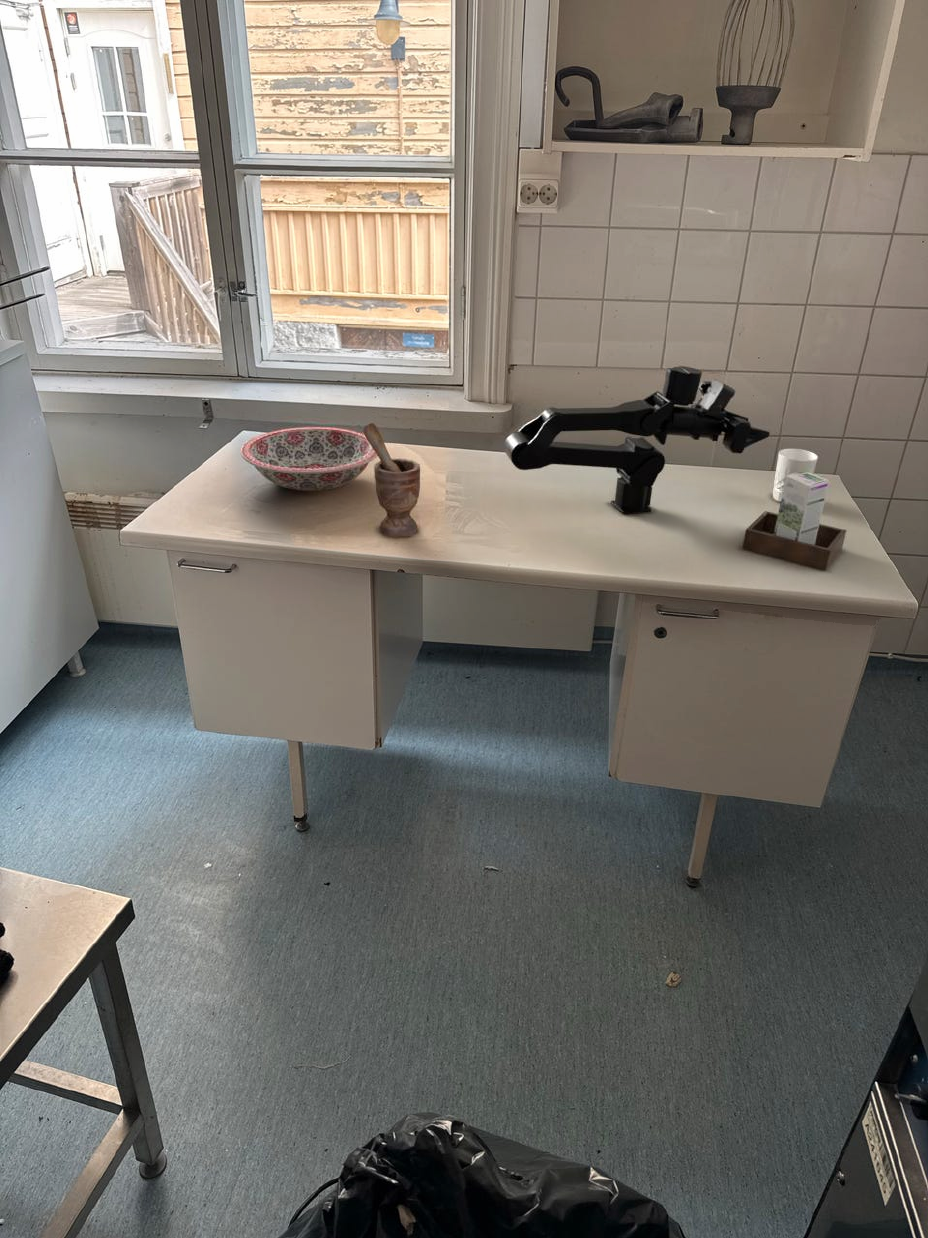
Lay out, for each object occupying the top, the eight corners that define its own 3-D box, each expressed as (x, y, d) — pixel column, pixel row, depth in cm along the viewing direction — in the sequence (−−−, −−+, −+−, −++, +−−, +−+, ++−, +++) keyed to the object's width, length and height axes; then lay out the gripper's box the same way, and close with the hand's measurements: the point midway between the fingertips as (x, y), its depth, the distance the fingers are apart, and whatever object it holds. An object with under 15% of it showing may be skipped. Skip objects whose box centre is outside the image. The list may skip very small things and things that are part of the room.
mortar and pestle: (354, 534, 172) (351, 432, 163) (368, 517, 180) (366, 418, 170) (413, 541, 170) (413, 438, 161) (424, 523, 178) (425, 424, 168)
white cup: (807, 495, 197) (818, 451, 193) (807, 508, 191) (818, 462, 186) (770, 490, 200) (779, 446, 195) (768, 502, 193) (778, 457, 188)
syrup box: (814, 551, 172) (831, 479, 164) (793, 558, 169) (810, 484, 162) (790, 540, 176) (806, 469, 169) (769, 546, 173) (784, 474, 166)
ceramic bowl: (218, 479, 196) (214, 443, 192) (330, 452, 213) (328, 418, 209) (292, 520, 177) (290, 481, 173) (408, 487, 195) (408, 451, 191)
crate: (741, 548, 172) (745, 529, 170) (761, 529, 180) (765, 510, 178) (825, 570, 164) (830, 550, 162) (841, 549, 173) (846, 530, 171)
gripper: (719, 394, 169) (792, 401, 173) (679, 369, 185) (748, 376, 189) (703, 451, 175) (775, 456, 178) (666, 422, 191) (733, 428, 194)
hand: (758, 427), depth 185 cm, fingers open, 9 cm apart
